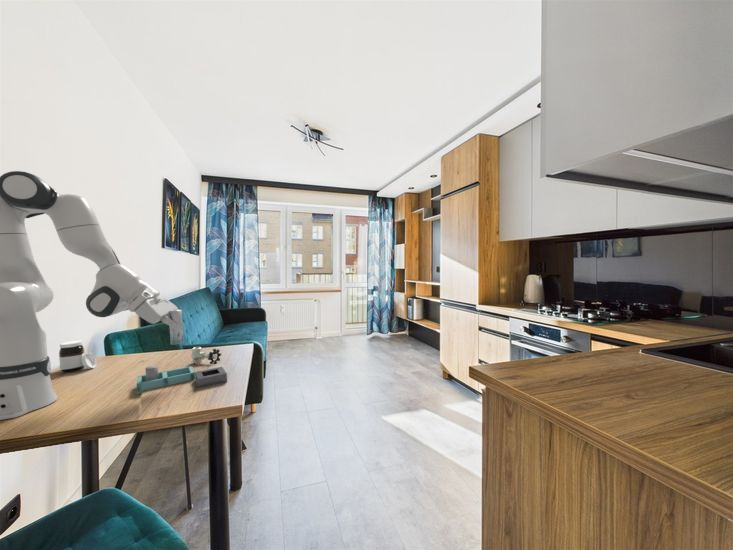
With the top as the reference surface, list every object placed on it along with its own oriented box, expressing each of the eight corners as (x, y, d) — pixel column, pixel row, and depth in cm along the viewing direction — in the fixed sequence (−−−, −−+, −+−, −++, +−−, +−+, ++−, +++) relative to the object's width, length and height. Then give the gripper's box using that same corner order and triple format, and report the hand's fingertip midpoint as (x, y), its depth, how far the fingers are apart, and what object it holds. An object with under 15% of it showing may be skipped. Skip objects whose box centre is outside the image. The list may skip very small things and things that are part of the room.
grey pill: (170, 345, 111) (169, 311, 110) (170, 342, 114) (168, 310, 114) (183, 343, 113) (182, 310, 113) (182, 341, 117) (181, 309, 116)
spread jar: (61, 369, 132) (59, 342, 132) (96, 363, 140) (94, 337, 139) (59, 376, 123) (57, 347, 123) (97, 369, 131) (95, 341, 131)
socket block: (198, 391, 105) (197, 379, 105) (195, 382, 113) (194, 371, 112) (227, 384, 110) (226, 373, 110) (222, 377, 118) (222, 366, 117)
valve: (187, 364, 134) (210, 366, 130) (186, 349, 133) (209, 351, 130) (199, 360, 140) (221, 361, 137) (198, 345, 140) (220, 346, 136)
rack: (137, 394, 104) (135, 373, 104) (138, 385, 111) (137, 366, 111) (195, 382, 113) (194, 363, 113) (192, 374, 121) (191, 357, 121)
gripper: (150, 302, 120) (180, 325, 123) (124, 309, 100) (160, 337, 103) (163, 290, 121) (192, 313, 124) (140, 295, 101) (175, 322, 104)
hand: (177, 324), depth 114 cm, fingers closed on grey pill, 4 cm apart
